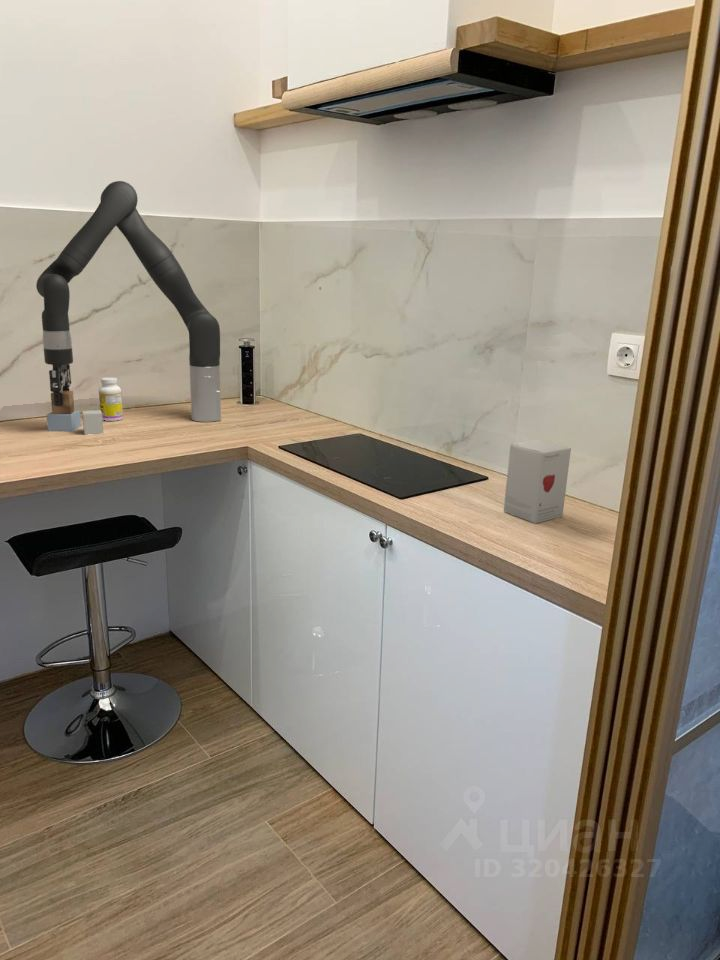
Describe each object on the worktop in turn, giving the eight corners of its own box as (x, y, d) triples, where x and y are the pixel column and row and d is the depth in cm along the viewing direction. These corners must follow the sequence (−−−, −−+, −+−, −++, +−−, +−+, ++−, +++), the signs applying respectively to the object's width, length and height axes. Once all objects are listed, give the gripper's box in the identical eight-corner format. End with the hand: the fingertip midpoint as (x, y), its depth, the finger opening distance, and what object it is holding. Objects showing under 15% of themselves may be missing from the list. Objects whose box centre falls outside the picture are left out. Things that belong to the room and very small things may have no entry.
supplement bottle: (101, 417, 228) (98, 376, 224) (123, 416, 230) (120, 376, 226) (100, 422, 222) (97, 380, 218) (123, 421, 224) (120, 380, 220)
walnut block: (74, 411, 213) (72, 390, 212) (70, 414, 209) (69, 393, 207) (56, 411, 213) (54, 390, 211) (52, 414, 208) (50, 393, 206)
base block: (81, 427, 216) (80, 410, 214) (72, 432, 209) (70, 415, 208) (57, 426, 216) (56, 409, 214) (48, 431, 209) (46, 414, 207)
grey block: (102, 430, 212) (100, 410, 210) (103, 434, 208) (102, 413, 206) (83, 431, 210) (82, 411, 208) (84, 435, 206) (83, 414, 204)
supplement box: (535, 524, 146) (542, 452, 141) (502, 512, 153) (508, 443, 148) (564, 516, 151) (572, 447, 147) (531, 505, 158) (538, 438, 153)
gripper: (65, 349, 199) (70, 407, 204) (77, 344, 213) (81, 398, 217) (37, 349, 198) (42, 407, 203) (50, 343, 211) (55, 398, 216)
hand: (62, 403), depth 210 cm, fingers open, 8 cm apart
